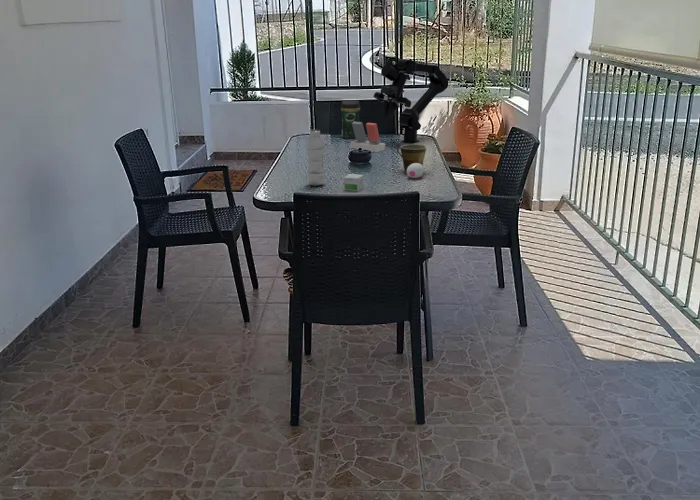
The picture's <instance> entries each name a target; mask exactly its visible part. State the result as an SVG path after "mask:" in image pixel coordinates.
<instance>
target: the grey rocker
mask: <svg viewBox="0 0 700 500" xmlns="http://www.w3.org/2000/svg"><path fill="white" fill-rule="evenodd" d="M352 126H353V130H354V134H355V137H356V138H355V141H363V142H366V141H368V138H367V136H366V131H365V127H364V124H363V122H362V121H359V122H355V121H354V122H353V123H352Z"/></svg>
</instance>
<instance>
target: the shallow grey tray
mask: <svg viewBox="0 0 700 500" xmlns="http://www.w3.org/2000/svg"><path fill="white" fill-rule="evenodd" d="M351 148H356V149H355V150H357V149H358V148H362V149H366V150H370V151H371V152H370V153H378V152H379V153H380V152H383V151H384V152H385V151H386V143H383V142H380V143H379V144H376V143H370V142H369V140H366V142H363V141H357V140H354V141H350V149H351Z"/></svg>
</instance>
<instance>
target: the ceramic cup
mask: <svg viewBox="0 0 700 500" xmlns="http://www.w3.org/2000/svg"><path fill="white" fill-rule="evenodd" d="M399 149H400V151H399ZM426 151H427V146H426V145H421V144H416V143H415V144H414V143H411V144H404V145H401V146H399V145H398V146H397V148H396V152H397V154H398V155H399V156H400V157H401V158H402V163H403V164H402V165H403V169H404V170H403V171H404V173H405V174H407V168H408V167H409V166H410V165H411V164H413V163H419V164H421V165H422V166H423V167H424V161H425V157H426V156H425V155H426Z"/></svg>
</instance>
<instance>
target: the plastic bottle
mask: <svg viewBox="0 0 700 500" xmlns="http://www.w3.org/2000/svg"><path fill="white" fill-rule="evenodd" d="M309 137H310V138H308V140H307V143H306V152H307V160H308V164H307V165H308V167H307V176H306V179H307V183H308V185H309V186H315V187H318V186H322V185H324V184H325V182H326V175H325V174H326V173H325V167H324V157H325V154H324V153H325V142H324V141H323V139H322V138H321V130H320V129H310V130H309Z"/></svg>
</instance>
